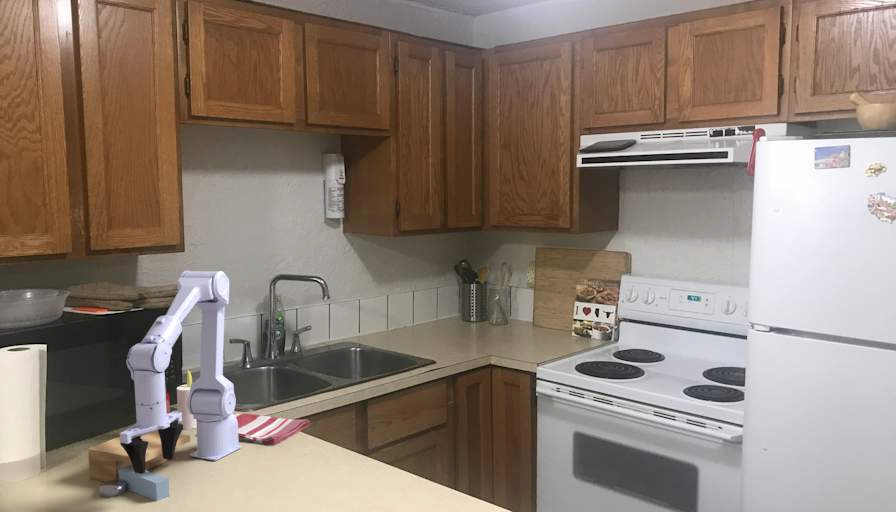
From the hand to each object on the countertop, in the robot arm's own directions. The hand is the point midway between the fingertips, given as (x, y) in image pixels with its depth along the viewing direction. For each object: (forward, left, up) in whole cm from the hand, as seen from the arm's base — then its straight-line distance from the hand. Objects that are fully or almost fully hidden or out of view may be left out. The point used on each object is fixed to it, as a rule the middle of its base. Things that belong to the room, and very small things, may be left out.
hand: (154, 465), depth 146 cm
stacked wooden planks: (-8, -13, -6) cm, 17 cm away
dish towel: (-40, -6, -7) cm, 41 cm away
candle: (-37, -25, -7) cm, 45 cm away
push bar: (-1, -4, -7) cm, 8 cm away
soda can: (-27, -27, -7) cm, 39 cm away
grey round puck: (+3, -9, -7) cm, 12 cm away
